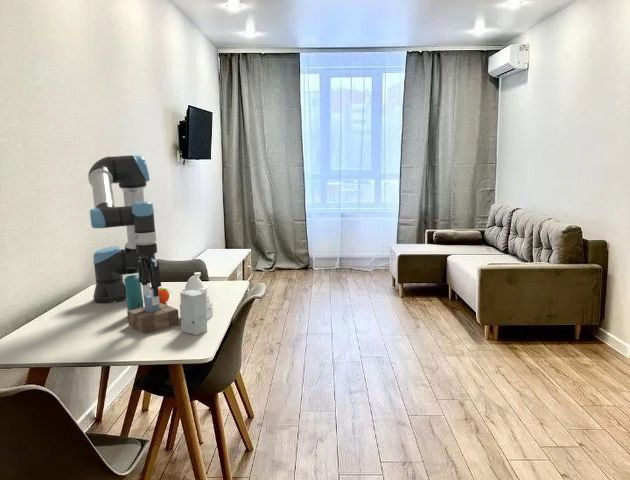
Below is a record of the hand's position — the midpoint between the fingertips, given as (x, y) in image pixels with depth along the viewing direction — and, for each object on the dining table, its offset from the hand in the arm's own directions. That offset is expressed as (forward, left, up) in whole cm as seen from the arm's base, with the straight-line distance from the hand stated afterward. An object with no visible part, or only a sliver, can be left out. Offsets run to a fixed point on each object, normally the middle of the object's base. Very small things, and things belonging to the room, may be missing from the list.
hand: (151, 302), depth 215 cm
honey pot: (+3, +17, -9) cm, 20 cm away
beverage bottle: (-18, +1, -9) cm, 20 cm away
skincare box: (+19, +7, -9) cm, 22 cm away
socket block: (0, 0, -9) cm, 9 cm away
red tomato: (-26, +17, -9) cm, 32 cm away
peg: (0, 0, -9) cm, 9 cm away
